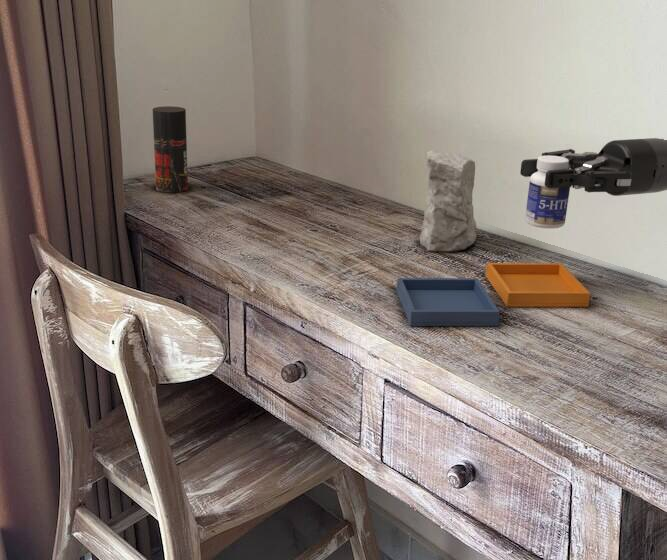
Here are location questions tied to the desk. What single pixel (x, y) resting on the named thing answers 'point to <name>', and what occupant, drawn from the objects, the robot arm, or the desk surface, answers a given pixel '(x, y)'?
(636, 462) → the desk surface
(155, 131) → the deodorant
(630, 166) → the robot arm
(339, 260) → the desk surface
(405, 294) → the slate-blue tray
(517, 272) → the amber tray
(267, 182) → the desk surface
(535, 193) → the pill bottle
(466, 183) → the decorative stone
